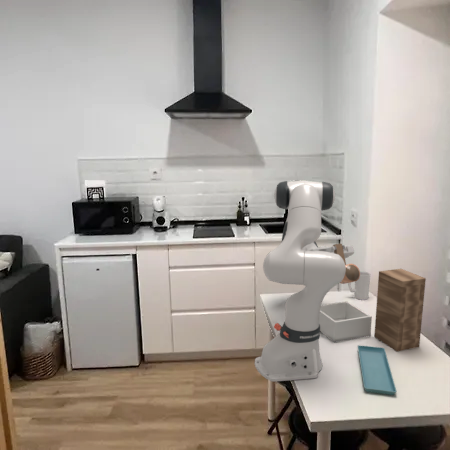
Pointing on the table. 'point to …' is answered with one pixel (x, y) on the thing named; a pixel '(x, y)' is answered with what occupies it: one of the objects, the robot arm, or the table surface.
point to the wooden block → (399, 309)
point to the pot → (347, 267)
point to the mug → (361, 286)
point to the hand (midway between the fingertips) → (339, 247)
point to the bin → (344, 322)
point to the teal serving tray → (376, 370)
